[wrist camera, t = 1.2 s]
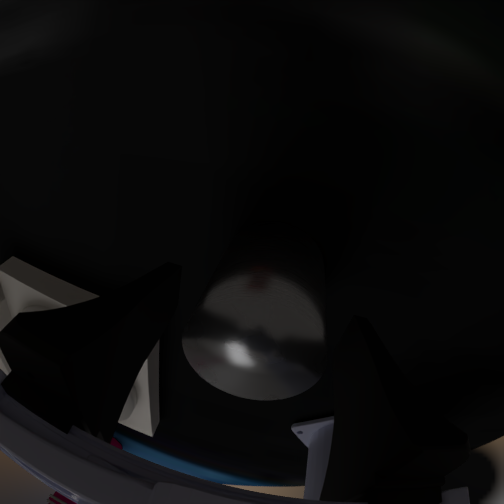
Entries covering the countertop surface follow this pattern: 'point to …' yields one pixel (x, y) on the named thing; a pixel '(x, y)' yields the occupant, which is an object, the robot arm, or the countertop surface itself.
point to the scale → (65, 294)
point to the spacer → (262, 316)
